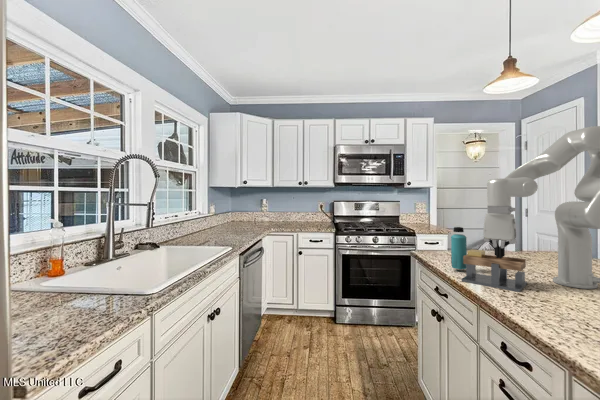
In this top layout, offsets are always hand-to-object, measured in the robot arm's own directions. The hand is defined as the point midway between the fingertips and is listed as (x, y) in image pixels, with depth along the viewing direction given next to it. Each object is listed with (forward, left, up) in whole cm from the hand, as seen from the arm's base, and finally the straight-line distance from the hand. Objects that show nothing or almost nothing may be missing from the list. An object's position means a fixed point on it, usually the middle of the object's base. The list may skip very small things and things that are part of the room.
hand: (499, 257), depth 114 cm
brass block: (+8, 0, -1) cm, 8 cm away
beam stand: (+2, 0, -10) cm, 10 cm away
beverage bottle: (+18, -10, -11) cm, 23 cm away
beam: (+2, 0, -3) cm, 4 cm away
